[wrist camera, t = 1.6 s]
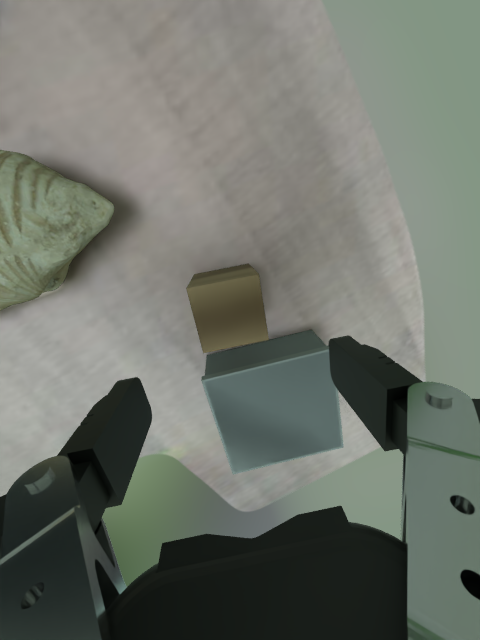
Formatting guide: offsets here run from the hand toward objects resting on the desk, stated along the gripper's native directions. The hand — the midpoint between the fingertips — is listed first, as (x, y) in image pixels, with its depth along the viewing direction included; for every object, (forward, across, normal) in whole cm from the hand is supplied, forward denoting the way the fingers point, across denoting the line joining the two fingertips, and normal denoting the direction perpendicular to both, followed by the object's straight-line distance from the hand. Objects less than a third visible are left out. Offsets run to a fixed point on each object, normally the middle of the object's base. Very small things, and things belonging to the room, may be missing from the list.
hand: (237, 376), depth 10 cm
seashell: (+14, +15, -8) cm, 22 cm away
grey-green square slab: (+14, -2, +11) cm, 18 cm away
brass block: (+14, 0, 0) cm, 14 cm away
